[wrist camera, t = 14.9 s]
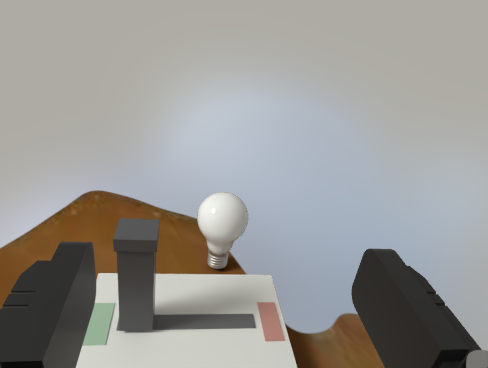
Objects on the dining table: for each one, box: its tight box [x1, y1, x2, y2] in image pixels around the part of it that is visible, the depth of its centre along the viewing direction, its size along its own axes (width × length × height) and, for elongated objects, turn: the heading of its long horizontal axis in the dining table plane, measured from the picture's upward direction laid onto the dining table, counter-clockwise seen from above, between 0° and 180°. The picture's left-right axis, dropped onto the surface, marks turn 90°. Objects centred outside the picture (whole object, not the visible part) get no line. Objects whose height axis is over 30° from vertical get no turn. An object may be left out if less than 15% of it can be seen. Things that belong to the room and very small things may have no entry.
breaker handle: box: [113, 218, 160, 331], centre depth 33 cm, size 3×3×11 cm
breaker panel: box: [76, 273, 297, 368], centre depth 37 cm, size 20×14×3 cm
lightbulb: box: [197, 192, 248, 269], centre depth 47 cm, size 6×6×11 cm
